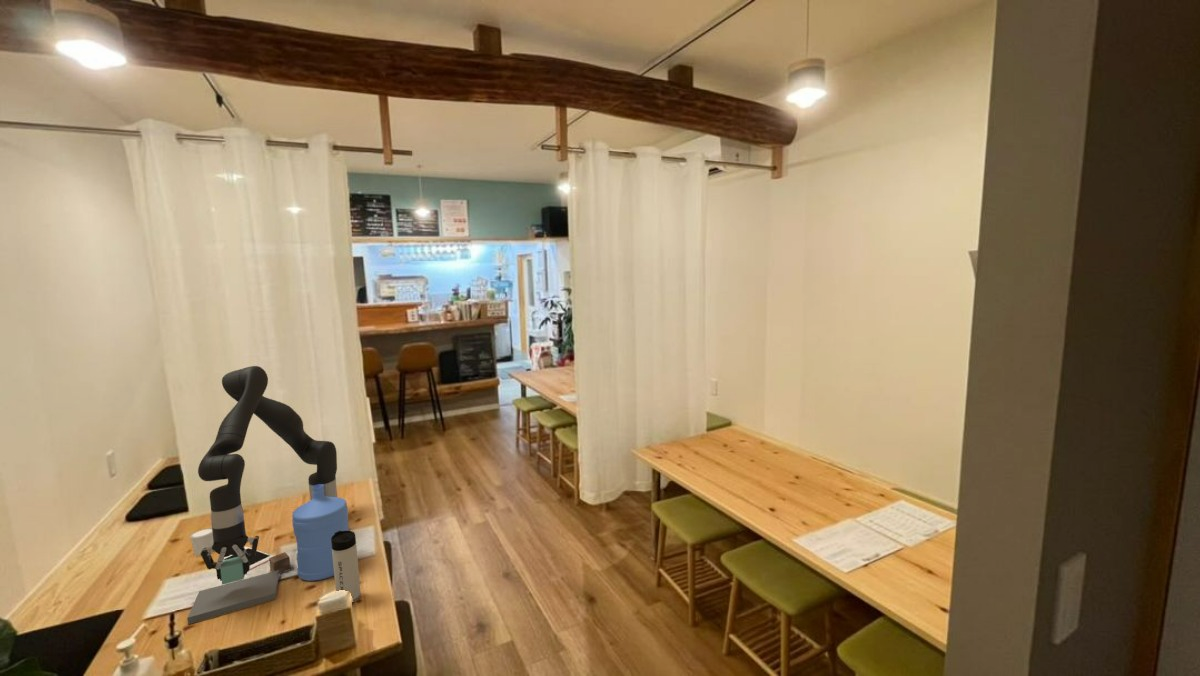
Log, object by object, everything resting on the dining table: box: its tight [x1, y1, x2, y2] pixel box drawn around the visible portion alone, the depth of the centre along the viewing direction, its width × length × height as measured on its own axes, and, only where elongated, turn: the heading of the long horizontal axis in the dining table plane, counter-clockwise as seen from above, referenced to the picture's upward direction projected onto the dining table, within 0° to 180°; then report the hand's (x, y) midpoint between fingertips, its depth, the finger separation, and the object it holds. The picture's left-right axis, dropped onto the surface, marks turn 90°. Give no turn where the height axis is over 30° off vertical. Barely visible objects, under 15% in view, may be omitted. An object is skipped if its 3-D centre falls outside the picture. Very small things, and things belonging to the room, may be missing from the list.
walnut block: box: [268, 552, 291, 575], centre depth 156 cm, size 4×4×4 cm
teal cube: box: [220, 557, 246, 585], centre depth 141 cm, size 5×5×5 cm
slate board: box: [186, 570, 280, 625], centre depth 142 cm, size 20×14×2 cm
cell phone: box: [223, 545, 274, 572], centre depth 164 cm, size 9×18×1 cm, turn 64°
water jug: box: [291, 484, 351, 582], centre depth 156 cm, size 16×16×28 cm
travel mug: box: [331, 530, 362, 603], centre depth 139 cm, size 6×7×20 cm
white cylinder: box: [189, 527, 214, 557], centre depth 170 cm, size 7×7×7 cm
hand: (234, 576), depth 141 cm, fingers closed on teal cube, 5 cm apart
